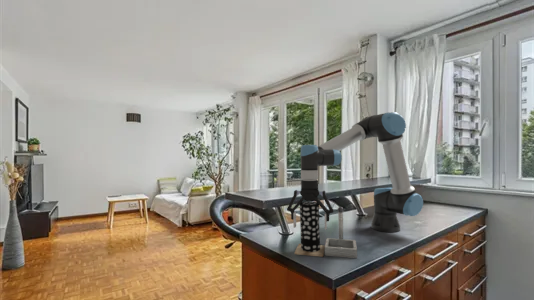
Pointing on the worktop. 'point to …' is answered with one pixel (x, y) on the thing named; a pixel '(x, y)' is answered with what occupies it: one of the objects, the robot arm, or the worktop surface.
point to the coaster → (317, 253)
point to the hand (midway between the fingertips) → (310, 227)
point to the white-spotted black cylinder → (310, 226)
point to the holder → (340, 242)
